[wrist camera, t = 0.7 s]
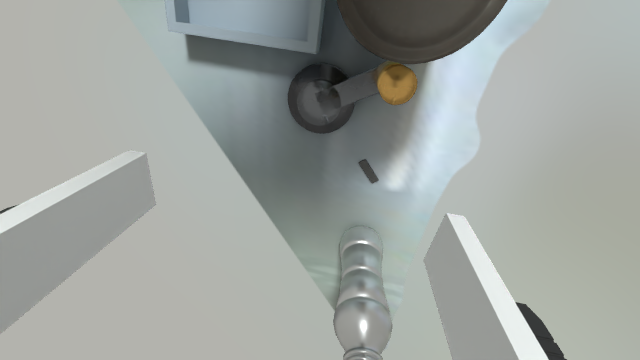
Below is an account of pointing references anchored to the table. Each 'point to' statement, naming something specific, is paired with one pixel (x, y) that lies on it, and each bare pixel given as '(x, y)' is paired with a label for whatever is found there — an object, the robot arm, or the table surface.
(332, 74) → the crank base
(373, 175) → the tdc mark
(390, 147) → the table surface
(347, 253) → the plastic bottle
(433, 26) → the coffee can
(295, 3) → the tray
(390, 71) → the crank
